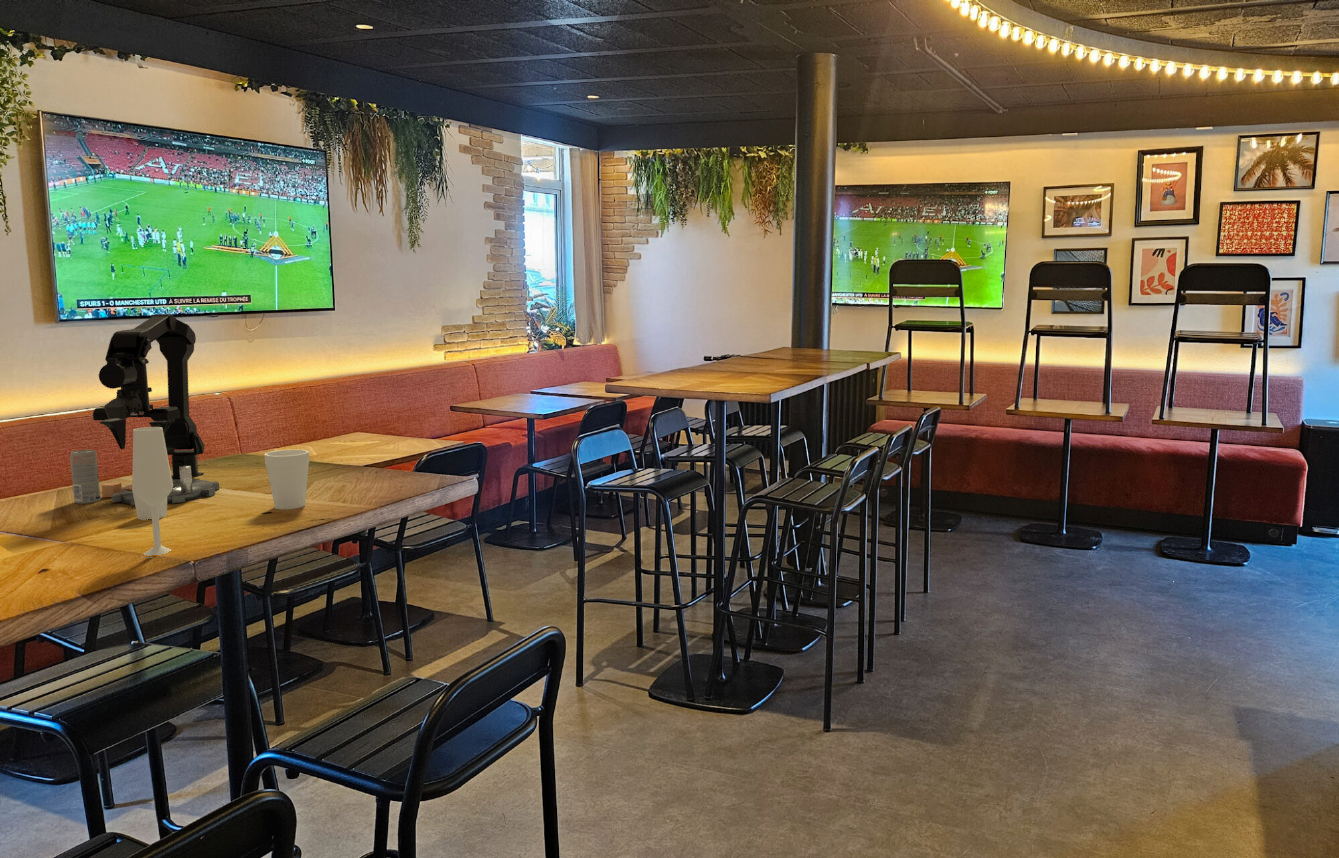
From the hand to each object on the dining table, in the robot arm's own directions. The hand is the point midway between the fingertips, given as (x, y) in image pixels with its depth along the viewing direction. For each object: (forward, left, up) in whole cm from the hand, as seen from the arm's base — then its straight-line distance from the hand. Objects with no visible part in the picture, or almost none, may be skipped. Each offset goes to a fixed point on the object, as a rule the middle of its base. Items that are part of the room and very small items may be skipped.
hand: (139, 449), depth 232 cm
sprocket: (0, +6, -12) cm, 13 cm away
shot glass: (+21, +16, -12) cm, 29 cm away
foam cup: (+11, +42, -12) cm, 45 cm away
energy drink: (+6, -10, -12) cm, 17 cm away
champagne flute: (+50, +36, -12) cm, 63 cm away
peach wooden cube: (0, -8, -12) cm, 14 cm away
